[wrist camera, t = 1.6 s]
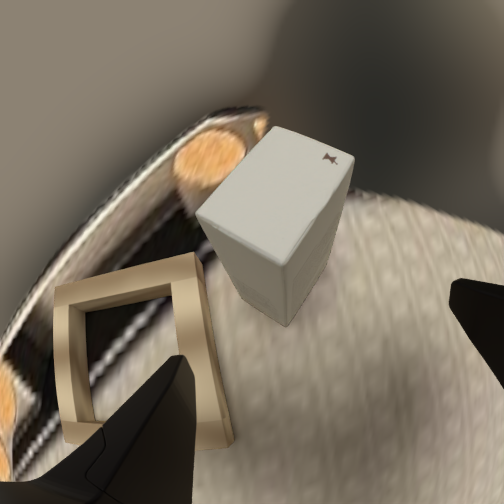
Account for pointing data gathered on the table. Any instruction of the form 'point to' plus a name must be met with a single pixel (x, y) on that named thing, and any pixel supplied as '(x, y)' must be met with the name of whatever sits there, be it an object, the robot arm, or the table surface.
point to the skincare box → (278, 219)
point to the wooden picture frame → (188, 336)
